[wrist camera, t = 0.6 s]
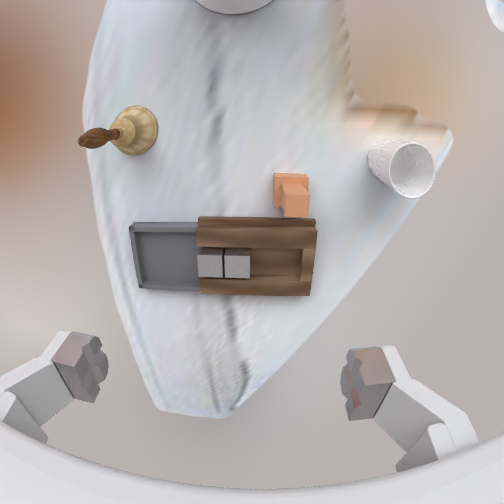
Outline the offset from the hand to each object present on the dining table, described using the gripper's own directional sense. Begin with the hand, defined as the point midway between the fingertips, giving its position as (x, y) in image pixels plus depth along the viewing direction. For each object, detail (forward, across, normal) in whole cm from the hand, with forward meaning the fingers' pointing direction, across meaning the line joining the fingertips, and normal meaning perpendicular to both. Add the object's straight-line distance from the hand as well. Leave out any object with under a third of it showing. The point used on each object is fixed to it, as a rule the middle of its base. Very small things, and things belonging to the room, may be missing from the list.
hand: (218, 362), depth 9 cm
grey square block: (+38, +6, +15) cm, 42 cm away
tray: (+40, +14, +15) cm, 45 cm away
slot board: (+40, -1, +15) cm, 43 cm away
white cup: (+40, -22, -3) cm, 46 cm away
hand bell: (+40, +19, -7) cm, 44 cm away
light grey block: (+38, +2, +15) cm, 41 cm away
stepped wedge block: (+40, -6, +3) cm, 40 cm away
